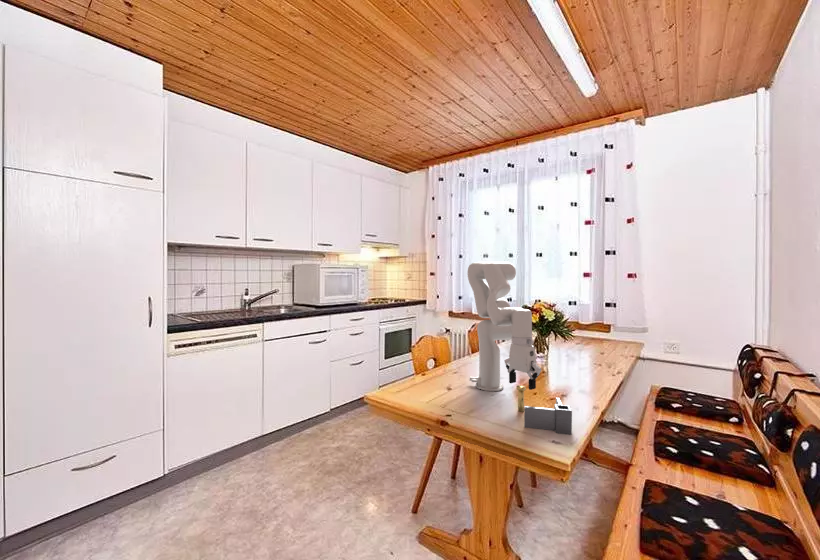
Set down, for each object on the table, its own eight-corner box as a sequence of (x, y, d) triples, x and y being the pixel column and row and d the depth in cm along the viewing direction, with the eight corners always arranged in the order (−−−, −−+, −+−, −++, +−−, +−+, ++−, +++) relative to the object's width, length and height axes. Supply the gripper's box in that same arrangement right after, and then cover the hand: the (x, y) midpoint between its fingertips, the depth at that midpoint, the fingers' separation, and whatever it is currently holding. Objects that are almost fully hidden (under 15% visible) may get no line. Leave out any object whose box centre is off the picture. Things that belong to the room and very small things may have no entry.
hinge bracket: (524, 429, 121) (524, 406, 120) (522, 412, 135) (522, 391, 135) (571, 434, 117) (571, 410, 117) (564, 416, 131) (564, 395, 131)
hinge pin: (516, 412, 135) (516, 387, 135) (516, 408, 139) (516, 384, 139) (525, 413, 135) (525, 388, 134) (525, 409, 138) (525, 385, 138)
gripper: (547, 343, 130) (547, 390, 130) (511, 337, 145) (512, 379, 145) (532, 345, 126) (533, 393, 126) (498, 339, 141) (498, 381, 141)
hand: (522, 385), depth 136 cm, fingers open, 9 cm apart
